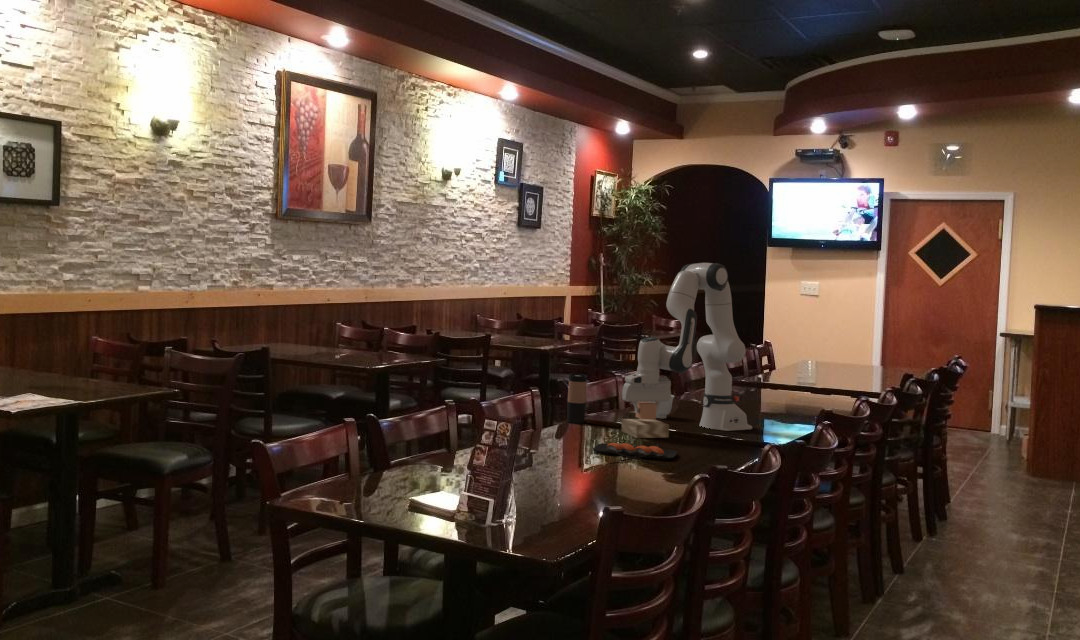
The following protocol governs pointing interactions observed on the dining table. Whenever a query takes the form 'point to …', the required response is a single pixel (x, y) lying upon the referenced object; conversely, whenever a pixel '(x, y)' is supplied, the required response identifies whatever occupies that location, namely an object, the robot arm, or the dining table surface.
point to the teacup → (664, 408)
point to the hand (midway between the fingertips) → (645, 412)
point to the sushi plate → (635, 451)
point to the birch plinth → (645, 428)
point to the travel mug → (576, 398)
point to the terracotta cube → (646, 410)
